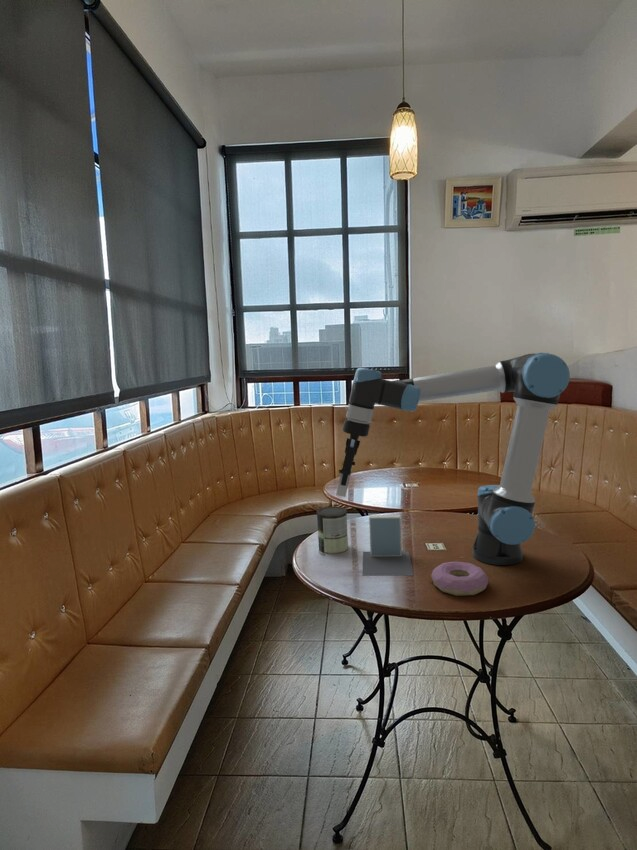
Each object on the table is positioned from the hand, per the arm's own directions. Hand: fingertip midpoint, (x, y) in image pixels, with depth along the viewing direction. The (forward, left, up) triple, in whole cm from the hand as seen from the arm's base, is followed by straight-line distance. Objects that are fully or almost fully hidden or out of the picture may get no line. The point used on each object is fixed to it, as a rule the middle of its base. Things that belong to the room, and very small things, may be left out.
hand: (342, 490), depth 150 cm
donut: (-29, -17, -27) cm, 43 cm away
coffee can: (+17, -10, -26) cm, 33 cm away
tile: (0, -18, -25) cm, 31 cm away
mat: (-4, -14, -26) cm, 30 cm away
